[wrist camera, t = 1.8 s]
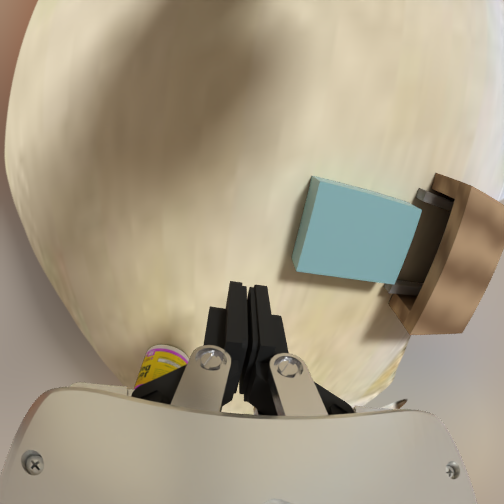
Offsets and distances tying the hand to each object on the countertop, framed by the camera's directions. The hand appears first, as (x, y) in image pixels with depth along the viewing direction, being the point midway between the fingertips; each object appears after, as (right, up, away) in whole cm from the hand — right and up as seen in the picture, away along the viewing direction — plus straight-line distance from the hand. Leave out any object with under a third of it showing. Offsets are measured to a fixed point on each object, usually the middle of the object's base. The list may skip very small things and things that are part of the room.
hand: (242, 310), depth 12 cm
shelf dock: (+25, +3, +17) cm, 31 cm away
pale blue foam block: (+11, +5, +16) cm, 20 cm away
